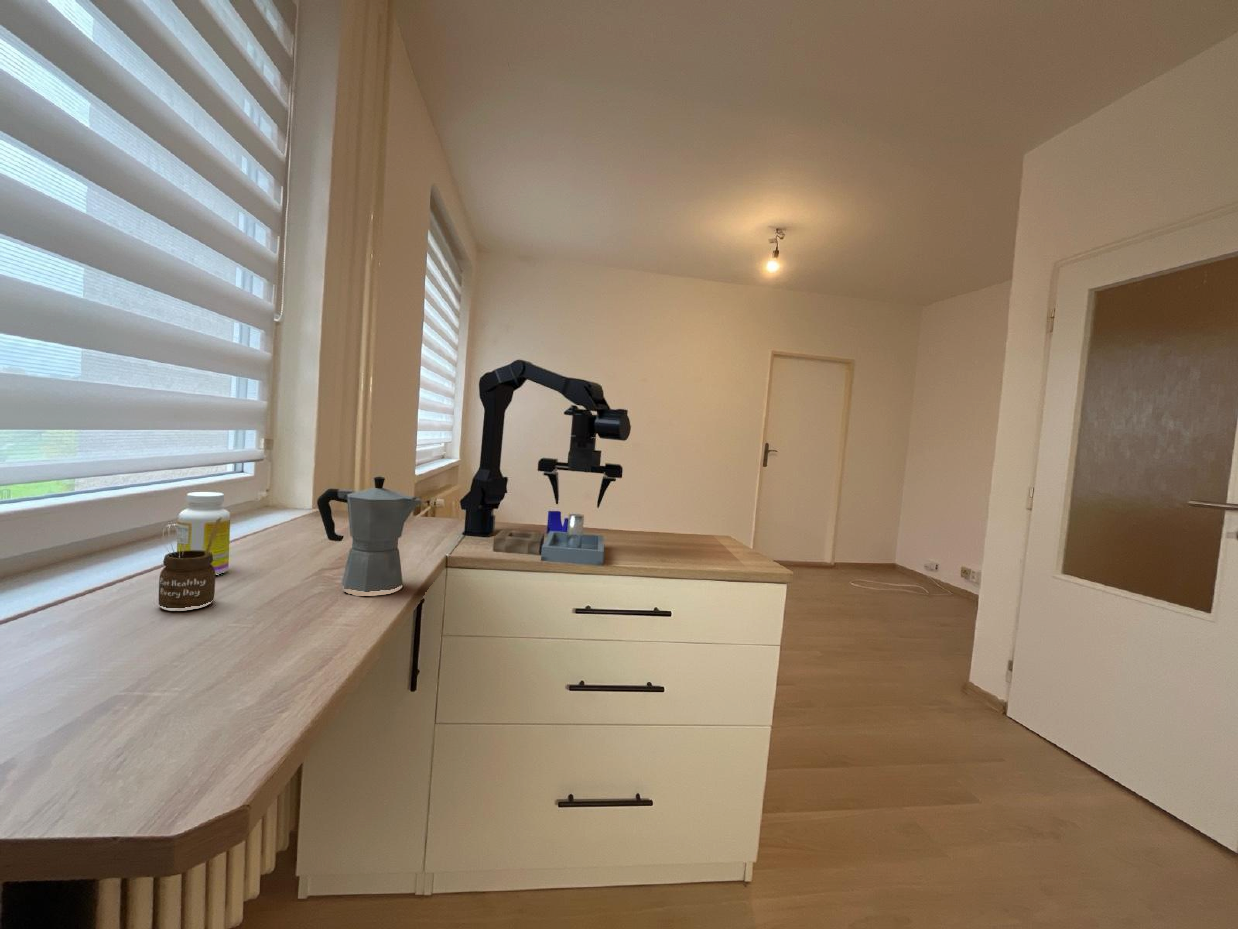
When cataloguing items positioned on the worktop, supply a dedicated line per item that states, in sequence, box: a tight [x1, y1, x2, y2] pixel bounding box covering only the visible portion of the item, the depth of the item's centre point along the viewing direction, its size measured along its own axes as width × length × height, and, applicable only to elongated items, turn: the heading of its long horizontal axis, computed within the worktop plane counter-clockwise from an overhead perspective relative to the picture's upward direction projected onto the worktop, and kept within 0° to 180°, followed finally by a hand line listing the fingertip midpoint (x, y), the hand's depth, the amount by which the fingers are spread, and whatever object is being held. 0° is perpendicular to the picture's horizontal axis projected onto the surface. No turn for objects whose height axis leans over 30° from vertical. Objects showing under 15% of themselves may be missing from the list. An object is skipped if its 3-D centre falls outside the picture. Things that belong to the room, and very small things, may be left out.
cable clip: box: [546, 510, 568, 534], centre depth 142 cm, size 12×4×6 cm, turn 30°
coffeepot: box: [316, 476, 423, 592], centre depth 87 cm, size 15×9×18 cm, turn 101°
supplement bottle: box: [176, 491, 231, 575], centre depth 87 cm, size 7×7×13 cm
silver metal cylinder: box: [566, 513, 585, 548], centre depth 124 cm, size 4×4×8 cm
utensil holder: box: [158, 517, 222, 608], centre depth 73 cm, size 6×6×12 cm
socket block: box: [492, 529, 545, 556], centre depth 125 cm, size 10×10×3 cm
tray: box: [540, 531, 605, 566], centre depth 124 cm, size 13×18×3 cm
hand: (577, 505), depth 124 cm, fingers open, 9 cm apart
